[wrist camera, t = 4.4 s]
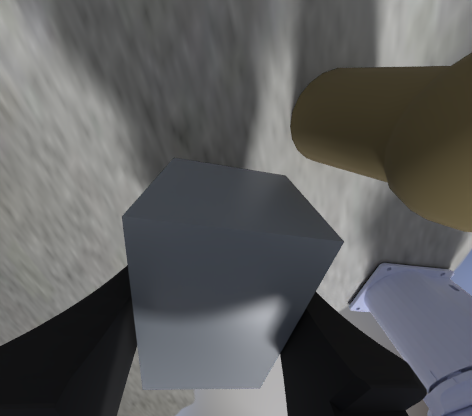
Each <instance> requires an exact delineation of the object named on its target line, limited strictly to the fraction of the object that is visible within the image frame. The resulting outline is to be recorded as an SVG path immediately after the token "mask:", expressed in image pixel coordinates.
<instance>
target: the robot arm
mask: <svg viewBox="0 0 472 416" xmlns="http://www.w3.org/2000/svg"><path fill="white" fill-rule="evenodd" d="M453 275H454V272H453V271H452V270H448V269H438V268H429V267H419V266H410V265H400V264H390V263H382V264H380V265H379V266H378V267H377V269H376V270H375V271H374V273H373V274H372V276H371V277H370V278H369V280H368V281H367V282H366V284H365V285H364V286H363V288H362V289H361V290H360V292H359V293H358V294H357V296H356V297H355V299H354V300H353V301H352V303H351V304H350V305H349V308H350V310H352V311H363V312H371V313H372V315H373V316H374V318H375V319H376V320H377V322H378V323H379V325H380V326H381V327H382V329H383V330H384V332H385V333H386V335H387V336H388V337H389V339H390V340H391V342H392V343H393V345H394V346H395V347H396V349H397V350H398V352H399V353H400V354H401V356H402V357H403V358H404V360H405V361H404V360H403V359H401V358H400V357H398V356H397V355H395V354H394V353H392V352H390V351H389V350H387V349H386V348H384V347H383V346H381V345H380V344H378V343H377V342H376V341H374V340H373V339H371V338H370V337H368V336H367V335H366V334H364V333H363V332H362V331H360V330H359V329H358V328H356V327H355V326H354V325H353V324H351V323H350V322H349V321H348V320H346V319H345V318H344V317H343V316H342V315H340V314H339V313H338V312H337V311H336V310H335V309H334V308H332V307H331V306H330V305H329V304H328V303H327V302H326V301H325V300H324V299H323V298H322V297H321V296H320V295H319V294H318V293H317V292H315V293H314V295H313V297H312V299H311V300H310V302H309V304H308V306H307V307H306V309H305V311H304V313H303V314H302V316H301V318H300V320H299V321H298V323H297V325H296V327H295V328H294V330H293V332H292V334H291V335H290V337H289V339H288V340H287V342H286V344H285V346H284V347H283V349H282V351H281V353H280V355H281V362H282V369H283V376H284V385H285V394H286V402H287V412H288V416H408V414H407V412H406V411H405V410H407V409H408V408H410V407H411V406H413V405H415V404H416V403H418V402H420V401H421V400H422V399H423V400H424V402H425V403H426V404H427V406H428V407H429V411H428V414H427V416H472V296H471V295H470V294H468V293H467V292H466V291H464V290H463V289H462V288H461V287H459V286H458V285H457V284H455V283H454V282H453V281H452V280H450V278H451V277H452V276H453ZM136 347H137V338H136V330H135V321H134V313H133V305H132V296H131V288H130V280H129V271H128V265H127V266H126V267H125V268H124V269H123V270H121V271H120V272H119V273H118V274H117V275H115V276H114V277H113V278H112V279H110V280H109V281H108V282H107V283H105V284H104V285H103V286H101V287H100V288H98V289H97V290H96V291H94V292H93V293H91V294H90V295H89V296H87V297H86V298H84V299H83V300H81V301H79V302H78V303H76V304H75V305H73V306H72V307H70V308H69V309H67V310H65V311H64V312H62V313H60V314H59V315H57V316H55V317H54V318H52V319H50V320H48V321H47V322H45V323H43V324H42V325H40V326H38V327H36V328H34V329H33V330H31V331H29V332H27V333H25V334H23V335H21V336H19V337H17V338H15V339H14V340H12V341H10V342H8V343H6V344H4V345H2V346H0V416H117V413H118V409H119V405H120V402H121V398H122V395H123V391H124V388H125V384H126V381H127V377H128V374H129V371H130V367H131V364H132V361H133V357H134V354H135V351H136ZM427 393H428V394H427ZM426 394H427V395H426Z"/></svg>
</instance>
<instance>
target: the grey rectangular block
mask: <svg viewBox="0 0 472 416" xmlns="http://www.w3.org/2000/svg"><path fill="white" fill-rule="evenodd" d="M122 221H123V230H124V238H125V246H126V255H127V263H128V271H129V280H130V288H131V296H132V305H133V313H134V321H135V330H136V338H137V346H138V354H139V363H140V371H141V379H142V388H143V390H161V389H249V388H251V389H254V388H260V387H261V386H262V384H263V382H264V381H265V379H266V377H267V375H268V374H269V372H270V370H271V368H272V367H273V365H274V363H275V361H276V360H277V358H278V356H279V354H280V353H281V351H282V349H283V347H284V346H285V344H286V342H287V340H288V339H289V337H290V335H291V334H292V332H293V330H294V328H295V327H296V325H297V323H298V321H299V320H300V318H301V316H302V314H303V313H304V311H305V309H306V307H307V306H308V304H309V302H310V300H311V299H312V297H313V295H314V293H315V292H316V290H317V288H318V286H319V285H320V283H321V281H322V279H323V278H324V276H325V274H326V272H327V271H328V269H329V267H330V265H331V264H332V262H333V260H334V258H335V257H336V255H337V253H338V251H339V250H340V248H341V246H342V245H343V243H344V241H343V240H342V239H341V238H340V237H339V235H338V234H337V233H336V232H335V231H334V230H333V229H332V227H331V226H330V225H329V224H328V223H327V222H326V221H325V220H324V218H323V217H322V216H321V215H320V214H319V213H318V212H317V211H316V209H315V208H314V207H313V206H312V205H311V204H310V203H309V201H308V200H307V199H306V198H305V197H304V196H303V195H302V194H301V192H300V191H299V190H298V189H297V188H296V187H295V186H294V185H293V183H292V182H291V181H290V180H289V179H288V178H287V177H286V176H285V175H279V174H272V173H266V172H260V171H254V170H248V169H241V168H235V167H229V166H223V165H217V164H210V163H204V162H198V161H192V160H186V159H179V158H173V159H172V161H171V162H170V163H169V164H168V165H167V166H166V167H165V168H164V170H163V171H162V172H161V173H160V174H159V175H158V176H157V178H156V179H155V180H154V181H153V182H152V183H151V184H150V185H149V187H148V188H147V189H146V190H145V191H144V192H143V193H142V194H141V196H140V197H139V198H138V199H137V200H136V201H135V202H134V203H133V205H132V206H131V207H130V208H129V209H128V210H127V211H126V213H125V214H124V215H123V216H122Z"/></svg>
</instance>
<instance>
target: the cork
mask: <svg viewBox="0 0 472 416" xmlns="http://www.w3.org/2000/svg"><path fill="white" fill-rule="evenodd" d="M290 127H291V134H292V140H293V142H294V144H295V146H296V148H297V150H298V151H299V152H300V153H301V154H302V155H303V156H305V157H306V158H308V159H311V160H313V161H316V162H319V163H323V164H326V165H330V166H333V167H336V168H340V169H343V170H347V171H350V172H354V173H357V174H360V175H364V176H367V177H371V178H374V179H377V180H381V181H384V182H388V185H389V188H390V189H391V190H392V191H393V192H394V193H395V194H396V195H397V197H398V198H399V199H400V200H401V201H402V202H403V203H404V204H405V205H406V206H407V207H408V208H409V209H410V210H411V211H413V212H415V213H416V214H418V215H420V216H421V217H423V218H425V219H427V220H430V221H433V222H436V223H439V224H442V225H445V226H448V227H451V228H455V229H458V230H461V231H464V232H472V53H470V54H469V55H467V56H466V57H464V58H463V59H461V60H460V61H458V62H456V63H455V64H453V65H452V66H424V67H369V68H337V69H334V70H331V71H328V72H325V73H323V74H321V75H320V76H319V77H317V78H316V79H315V80H313V81H312V82H311V83H309V85H308V86H307V87H306V88H305V90H304V91H303V92H302V94H301V95H300V96H299V98H298V100H297V103H296V105H295V107H294V109H293V112H292V119H291V126H290Z"/></svg>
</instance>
